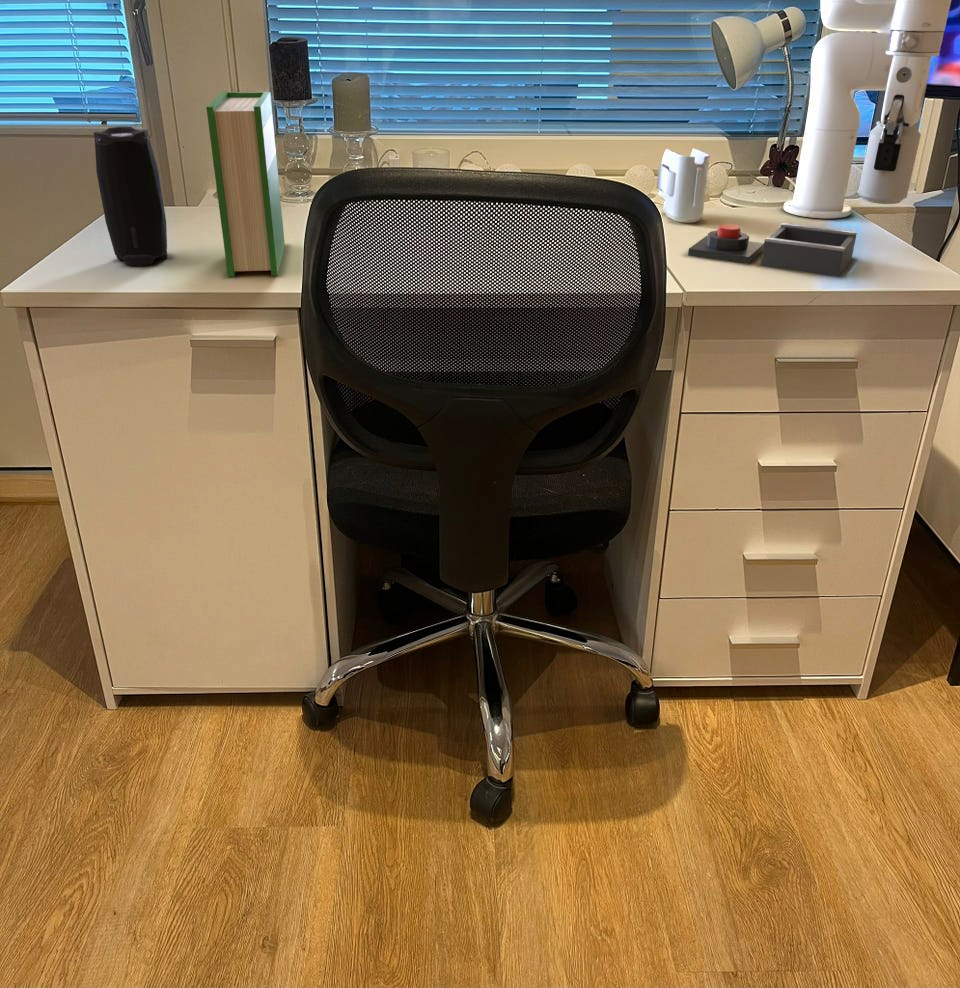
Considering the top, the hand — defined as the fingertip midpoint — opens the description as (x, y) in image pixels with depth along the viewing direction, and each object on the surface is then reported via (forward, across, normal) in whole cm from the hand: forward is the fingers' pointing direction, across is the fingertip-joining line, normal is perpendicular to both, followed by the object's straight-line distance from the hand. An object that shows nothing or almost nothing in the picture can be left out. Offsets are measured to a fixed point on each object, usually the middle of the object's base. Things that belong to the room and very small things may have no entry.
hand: (888, 165), depth 149 cm
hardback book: (+14, -55, +85) cm, 102 cm away
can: (+6, 0, 0) cm, 6 cm away
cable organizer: (+14, +9, +36) cm, 40 cm away
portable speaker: (+14, -64, +101) cm, 120 cm away
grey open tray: (+14, -11, +8) cm, 20 cm away
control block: (+14, -12, +21) cm, 28 cm away
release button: (+12, -12, +21) cm, 27 cm away
